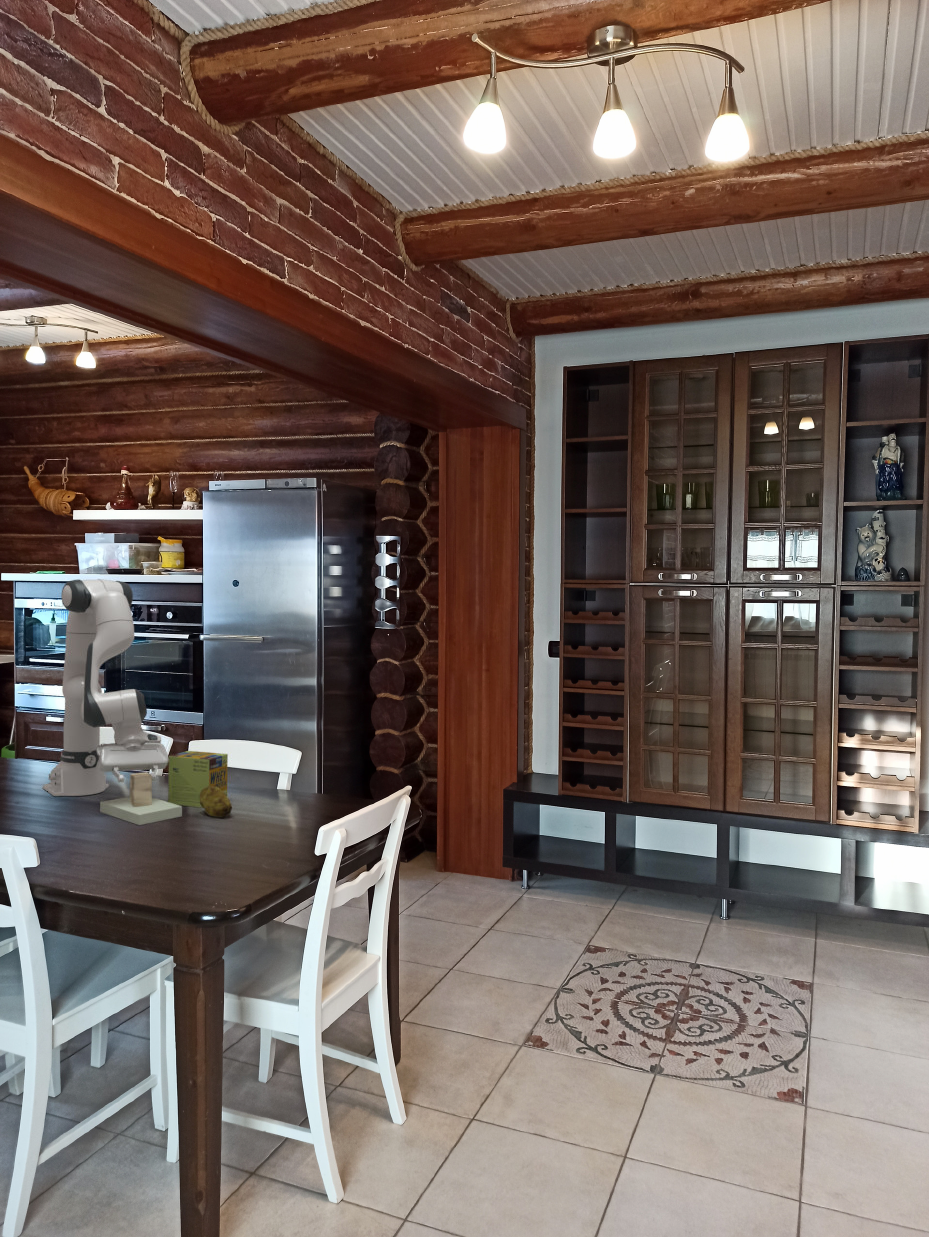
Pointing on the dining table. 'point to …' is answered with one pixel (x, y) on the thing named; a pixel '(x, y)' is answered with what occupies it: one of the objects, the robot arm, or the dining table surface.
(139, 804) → the birch block
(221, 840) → the dining table surface
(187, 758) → the protein box
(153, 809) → the green board
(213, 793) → the potato
